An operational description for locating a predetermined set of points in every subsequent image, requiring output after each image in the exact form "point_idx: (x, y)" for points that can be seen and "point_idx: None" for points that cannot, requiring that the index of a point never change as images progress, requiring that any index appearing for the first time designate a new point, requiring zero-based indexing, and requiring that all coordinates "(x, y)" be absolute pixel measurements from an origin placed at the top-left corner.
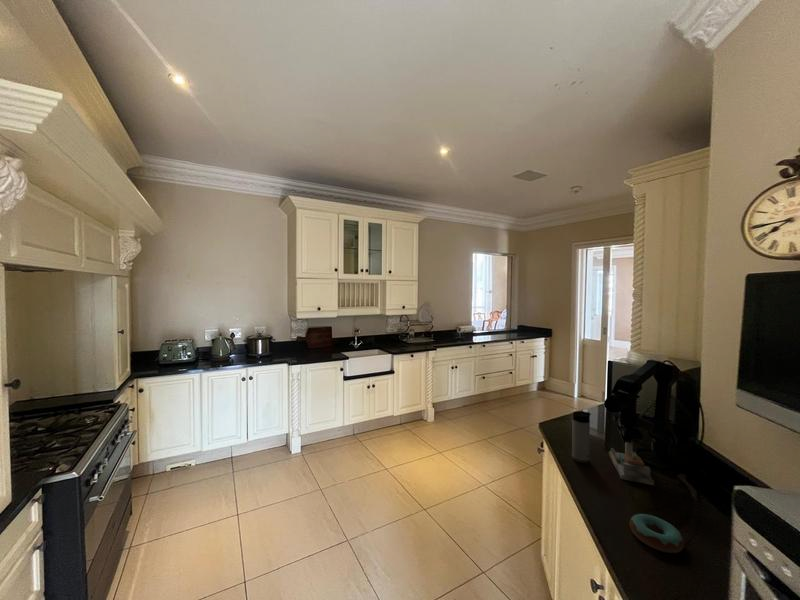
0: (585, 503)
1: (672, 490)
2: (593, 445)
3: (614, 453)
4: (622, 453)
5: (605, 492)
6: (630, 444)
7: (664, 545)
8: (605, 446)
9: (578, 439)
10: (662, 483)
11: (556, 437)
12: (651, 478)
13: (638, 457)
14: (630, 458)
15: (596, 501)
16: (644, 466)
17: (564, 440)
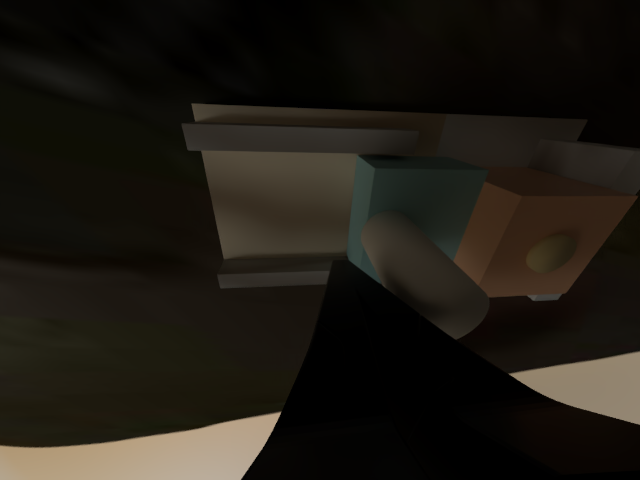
0: (603, 354)
1: (631, 2)
2: (151, 317)
3: (310, 281)
4: (361, 266)
5: (569, 315)
6: (484, 308)
7: None
8: (108, 266)
9: None
10: (544, 40)
11: (177, 415)
12: (553, 123)
13: (534, 210)
14: (542, 273)
15: (603, 336)
16: (620, 187)
17: (188, 397)
